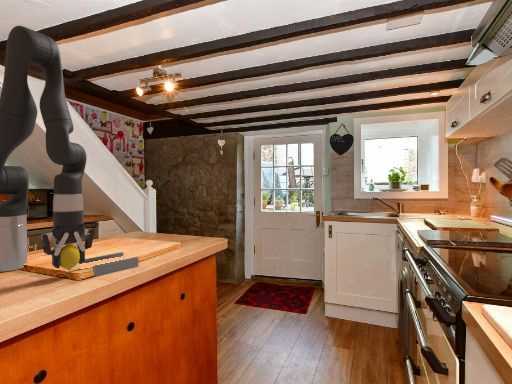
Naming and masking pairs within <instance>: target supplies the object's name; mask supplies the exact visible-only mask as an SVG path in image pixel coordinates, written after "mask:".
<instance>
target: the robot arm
mask: <svg viewBox="0 0 512 384" xmlns="http://www.w3.org/2000/svg"><path fill="white" fill-rule="evenodd" d="M5 47H6V48H5V58H4V59H5V61H4V72H3V81H2V85H1V90H0V91H1V93H0V195H8V196H9V197H8V198H7V199H6V200H5V201H3V202H1V203H0V272H1V273H2V272H10V271H16V270H20V269H23V268H25V267H24V266H23V264H25V263H27V264H28V228H27V227H28V226H27V225H28V223H27V222H28V221H27V217H28V216H27V210H28V205H29V204H28V203H29V185H30V184H29V180H30V179H29V174H28V171H27V170H26V168H24V167H23V166H17V165H16V166H15V165H6V163H7V160H8V158H9V157H10V155H12V153H13V151H16V149H17V148H18V147H20V145H22V144H23V143H25V141H27V139H29V138H30V136H31V135H32V134H33V133H34V129H35V126H36V122H37V121H36V120H37V118H38V107H37V103H36V101H35V98H34V97H33V95H32V92H31V89H30V88H29V87H30V86H29V84H28V83H29V82H28V74H29V67H30V65H32V66H36V67H39V68H40V69H41V71H42V73H43V76H44V88H43V90H42V93H41V94H40V95H41V96H40V98H39V111H40V114H41V118H42V122H43V125H44V128H45V151H46V154H47V156H48V158H49V160H51V162H52V163H54V164H56V165H58V166H62V168H61V172H60V173H59V174H56V175H55V176H54V178H53V200H52V220H53V221H52V223H53V224H52V225H53V227H52V230H51V232H48V233H40V234H39V238H40V241H41V246H42V250H43V253H44V254H46V255H48V256H51V265H52V266H53V268H55V269H60V268H61V266H60V255H59V253H60V250H61V249H62V248H63V247H64V246H65V245H67V244H74V245H75V246H76V247H77V248H78V250H79V253H80V260H79V262H78V265H79V264H82V263H83V261H84V260H85V259H86V251H87V250H88V249H91V248H93V247H92V246H93V241H94V237H95V236H94V235H95V229H94V228H91V227H88V228H85V227H84V200H83V199H84V198H83V181H82V180H83V177H84V174H85V170H86V165H87V152H86V150H85V148H84V147H83V146H82V145H80V144H79V143H77V142H71V141H70V135H71V134H72V133H73V132H74V129H75V128H74V124H73V120H72V115H71V113H70V110H69V107H68V102H67V98H66V94H65V93H66V91H65V83H64V82H65V81H64V75H63V74H64V73H63V66H62V58H61V53H60V50H59V46H58V44H57V42H56V41H55V40H54V39H53V38H52V37H50V36H48V35H45V34H43V33H40V32H39V31H36V30H33V29H31V28H29V27H27V26H24V25H15V26H13V27H12V28H11V30H10V31H9V34H8V37H7V41H6V46H5ZM83 235H85V240H84V243H83V240H82V239H81V238H82V236H83ZM52 237H53V238H54V239H55V242H54V243H53V248H51V243H50V241H51V240H52Z"/></svg>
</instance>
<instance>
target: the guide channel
mask: <svg viewBox="0 0 512 384" xmlns="http://www.w3.org/2000/svg"><path fill="white" fill-rule="evenodd" d="M121 256H123V257H124V252H123V251H121V252H120V251H119V252H115V253H110V254H104V255H99V256H95V257H88V258H85V260H84V261H83V263H89V262H93V261H98V260H103V259H109V258H115V257H121ZM136 267H139V257H138V256H136V257H135V256H134V257H129V258H123V260H119V261H115V262H110V263H105V264H100V265H95V266H93V267H92V272H93V271H94V276H93V277H99V276H104V275H107V274H111V273H116V272H119V271H121V272H122V271H125V270H128V269H132V268H136Z"/></svg>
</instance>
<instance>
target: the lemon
mask: <svg viewBox="0 0 512 384" xmlns="http://www.w3.org/2000/svg"><path fill="white" fill-rule="evenodd" d="M59 255H60V268H62V269H66V270H67V271H71V270H72V269H73V268H74V267H76V266H77V265H79V263H78V262H79V260H80V253H79V250H78V248H77V246H76V245H75V244H74V245H73V244H72V243H68V244H65V245H64V246H63V248H62V249H61V250H60V253H59Z"/></svg>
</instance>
